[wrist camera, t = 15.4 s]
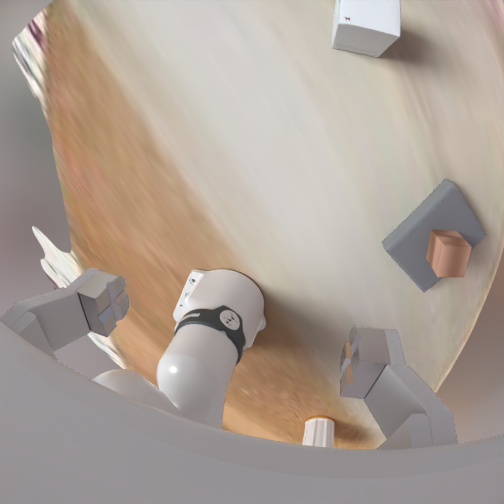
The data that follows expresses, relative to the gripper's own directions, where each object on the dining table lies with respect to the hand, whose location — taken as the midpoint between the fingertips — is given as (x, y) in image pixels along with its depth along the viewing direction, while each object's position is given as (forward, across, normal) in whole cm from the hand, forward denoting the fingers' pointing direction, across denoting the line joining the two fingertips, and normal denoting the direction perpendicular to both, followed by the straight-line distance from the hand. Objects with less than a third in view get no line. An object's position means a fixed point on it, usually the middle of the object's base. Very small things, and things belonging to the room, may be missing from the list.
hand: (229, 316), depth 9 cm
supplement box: (+37, -7, -22) cm, 44 cm away
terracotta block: (+33, -26, +8) cm, 43 cm away
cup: (+37, -20, +72) cm, 84 cm away
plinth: (+37, -26, +8) cm, 46 cm away
